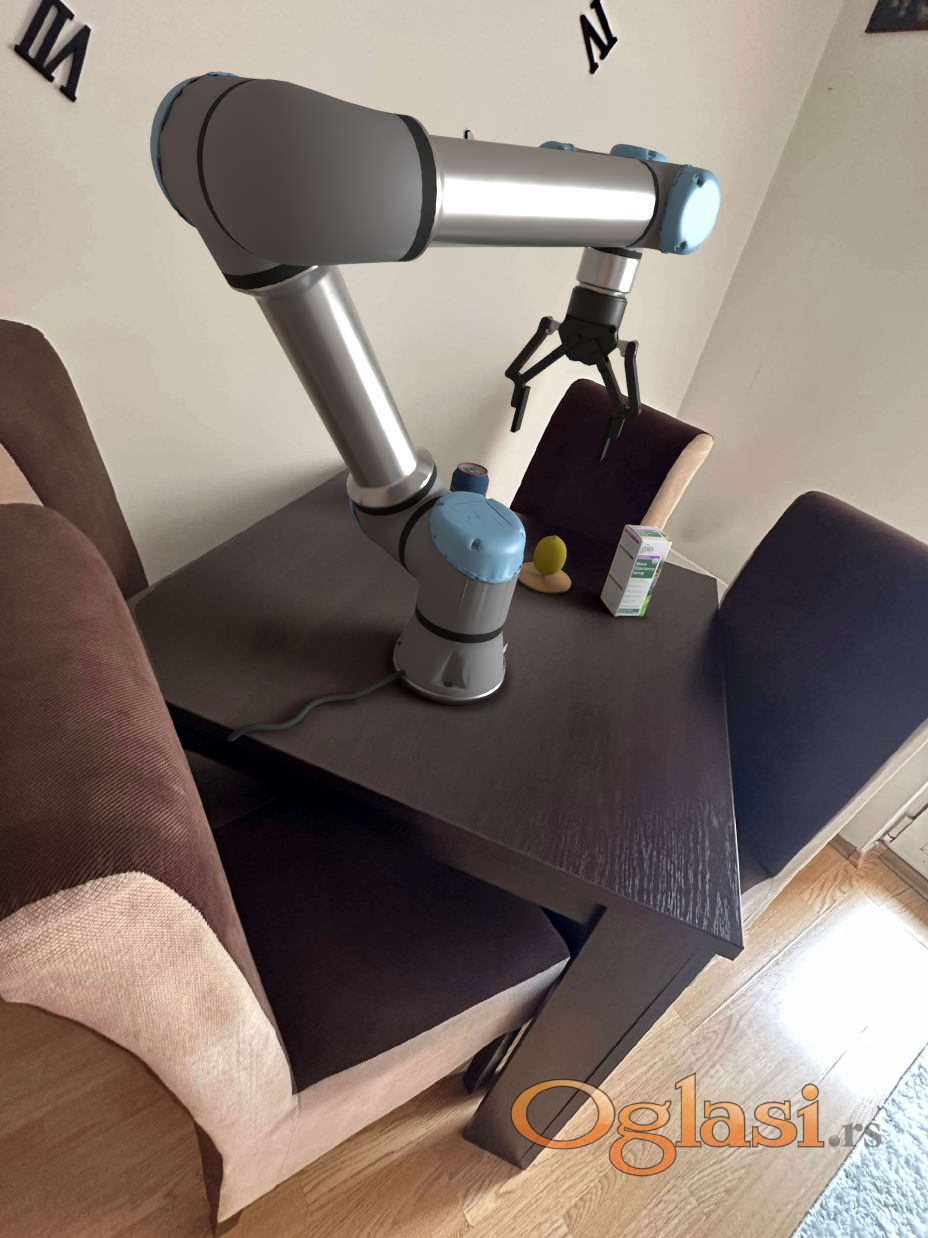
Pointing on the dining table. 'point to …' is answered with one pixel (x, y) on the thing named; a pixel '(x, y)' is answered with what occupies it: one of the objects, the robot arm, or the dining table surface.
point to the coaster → (543, 580)
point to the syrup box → (635, 570)
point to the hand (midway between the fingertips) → (556, 444)
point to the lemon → (549, 555)
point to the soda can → (470, 478)
